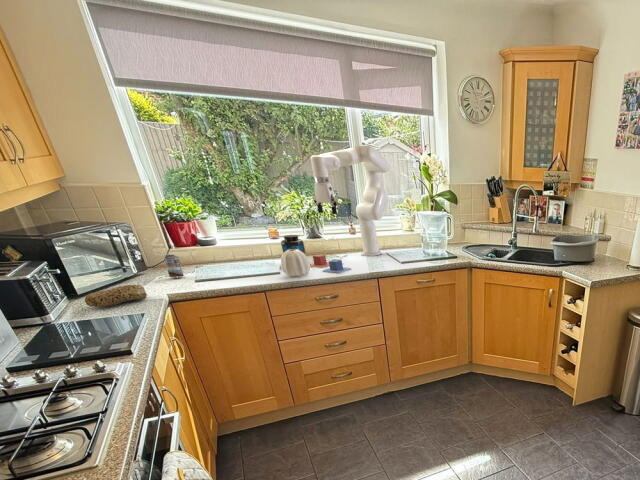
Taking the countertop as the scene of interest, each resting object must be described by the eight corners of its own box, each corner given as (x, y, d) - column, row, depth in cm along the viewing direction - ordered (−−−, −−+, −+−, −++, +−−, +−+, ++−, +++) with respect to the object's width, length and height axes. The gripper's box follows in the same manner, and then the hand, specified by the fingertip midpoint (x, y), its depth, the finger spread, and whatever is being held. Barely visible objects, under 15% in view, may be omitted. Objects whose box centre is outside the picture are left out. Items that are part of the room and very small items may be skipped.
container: (305, 266, 243) (299, 237, 235) (283, 266, 241) (276, 237, 233) (309, 261, 253) (303, 234, 246) (288, 262, 251) (282, 234, 243)
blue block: (336, 268, 239) (334, 259, 237) (343, 268, 238) (341, 260, 235) (330, 269, 235) (328, 261, 232) (337, 270, 234) (335, 261, 231)
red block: (320, 262, 249) (318, 254, 247) (327, 263, 248) (325, 255, 245) (314, 264, 245) (312, 256, 243) (321, 265, 244) (319, 256, 241)
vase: (284, 279, 217) (277, 253, 211) (284, 273, 228) (278, 248, 222) (312, 277, 223) (306, 251, 216) (311, 271, 234) (306, 246, 227)
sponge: (145, 298, 189) (83, 297, 175) (143, 281, 186) (79, 280, 171) (150, 310, 182) (86, 310, 168) (148, 293, 179) (83, 292, 164)
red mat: (319, 262, 253) (319, 261, 253) (334, 263, 250) (334, 263, 250) (306, 266, 244) (306, 265, 243) (322, 267, 241) (322, 266, 241)
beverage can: (169, 279, 211) (160, 256, 206) (171, 276, 217) (163, 253, 211) (184, 278, 214) (175, 255, 208) (186, 275, 220) (177, 252, 214)
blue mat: (335, 267, 243) (335, 266, 242) (351, 269, 240) (351, 268, 240) (322, 271, 233) (322, 270, 233) (338, 273, 231) (338, 272, 230)
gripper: (339, 181, 231) (344, 213, 239) (313, 179, 236) (320, 211, 244) (330, 181, 225) (336, 215, 233) (304, 180, 229) (311, 213, 238)
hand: (327, 213), depth 238 cm, fingers open, 9 cm apart
